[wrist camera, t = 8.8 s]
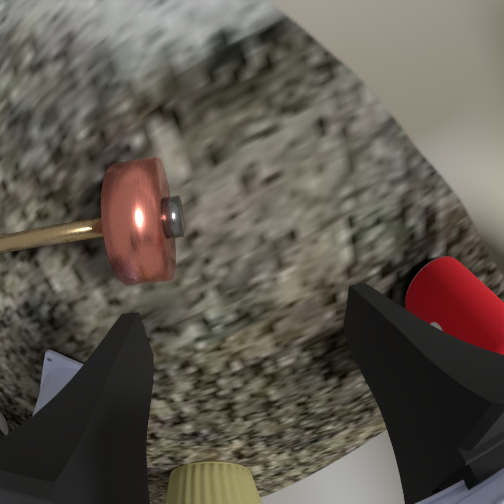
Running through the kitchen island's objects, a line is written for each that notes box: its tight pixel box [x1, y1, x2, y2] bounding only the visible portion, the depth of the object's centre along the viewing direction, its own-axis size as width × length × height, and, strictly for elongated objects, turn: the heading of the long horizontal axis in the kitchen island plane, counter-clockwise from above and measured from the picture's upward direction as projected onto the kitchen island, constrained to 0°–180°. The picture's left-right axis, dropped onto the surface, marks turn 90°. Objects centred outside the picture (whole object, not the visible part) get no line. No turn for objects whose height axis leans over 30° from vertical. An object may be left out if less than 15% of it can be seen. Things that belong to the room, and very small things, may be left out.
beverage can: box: [405, 257, 504, 355], centre depth 20 cm, size 6×6×12 cm
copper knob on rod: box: [0, 157, 184, 285], centre depth 15 cm, size 17×6×6 cm, turn 93°
